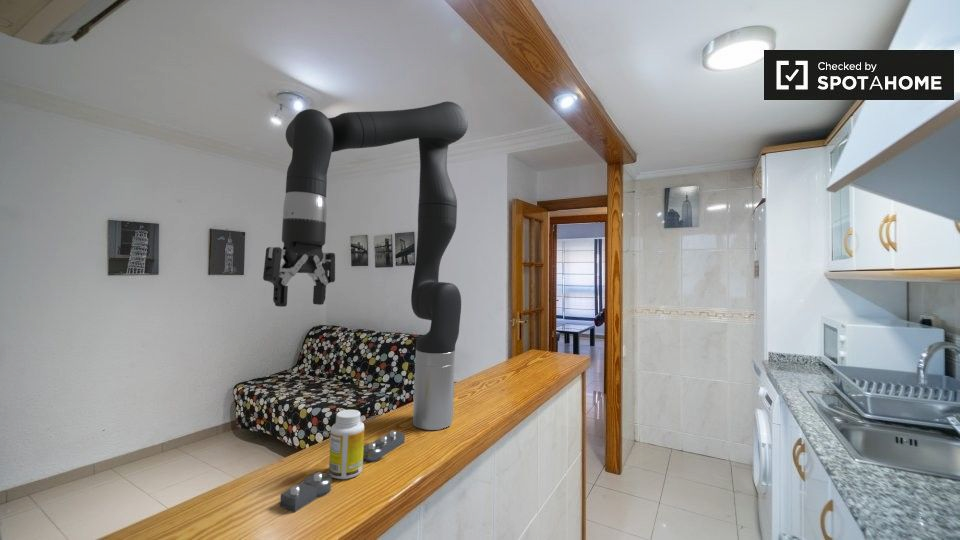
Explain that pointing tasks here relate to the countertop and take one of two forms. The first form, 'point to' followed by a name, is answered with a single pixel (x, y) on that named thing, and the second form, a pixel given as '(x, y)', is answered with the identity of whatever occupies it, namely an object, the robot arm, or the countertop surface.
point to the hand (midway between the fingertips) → (300, 305)
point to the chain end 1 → (306, 491)
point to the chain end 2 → (382, 446)
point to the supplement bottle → (346, 445)
